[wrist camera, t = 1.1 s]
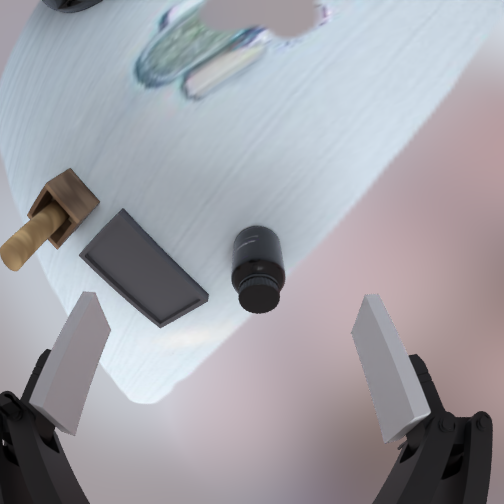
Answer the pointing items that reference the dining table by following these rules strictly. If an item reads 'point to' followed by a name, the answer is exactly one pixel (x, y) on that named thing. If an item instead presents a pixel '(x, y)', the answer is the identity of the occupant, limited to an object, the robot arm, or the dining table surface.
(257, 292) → the supplement bottle
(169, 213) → the dining table surface
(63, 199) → the box
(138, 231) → the tray
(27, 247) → the dowel
